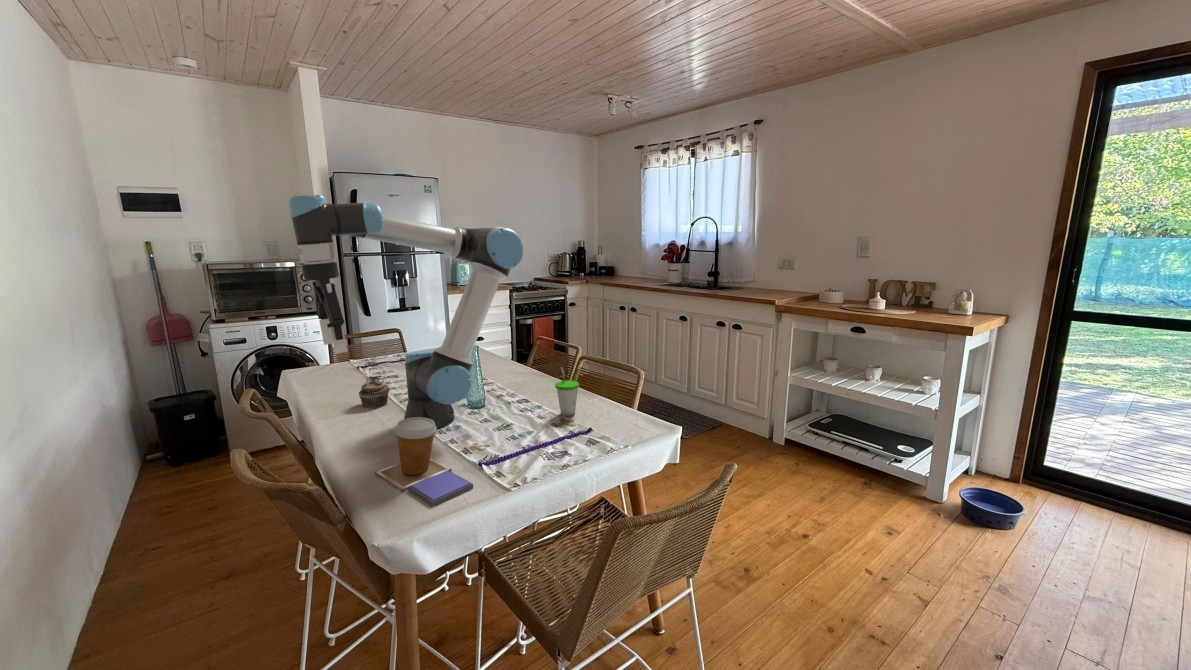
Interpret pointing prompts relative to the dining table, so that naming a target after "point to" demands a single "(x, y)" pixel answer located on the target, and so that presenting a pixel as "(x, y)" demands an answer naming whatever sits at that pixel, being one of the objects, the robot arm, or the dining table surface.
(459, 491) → the ink pad
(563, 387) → the cup
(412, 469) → the disposable coffee cup
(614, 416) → the dining table surface
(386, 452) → the dining table surface
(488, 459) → the dining table surface
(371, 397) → the cupcake
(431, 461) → the brown square tray
